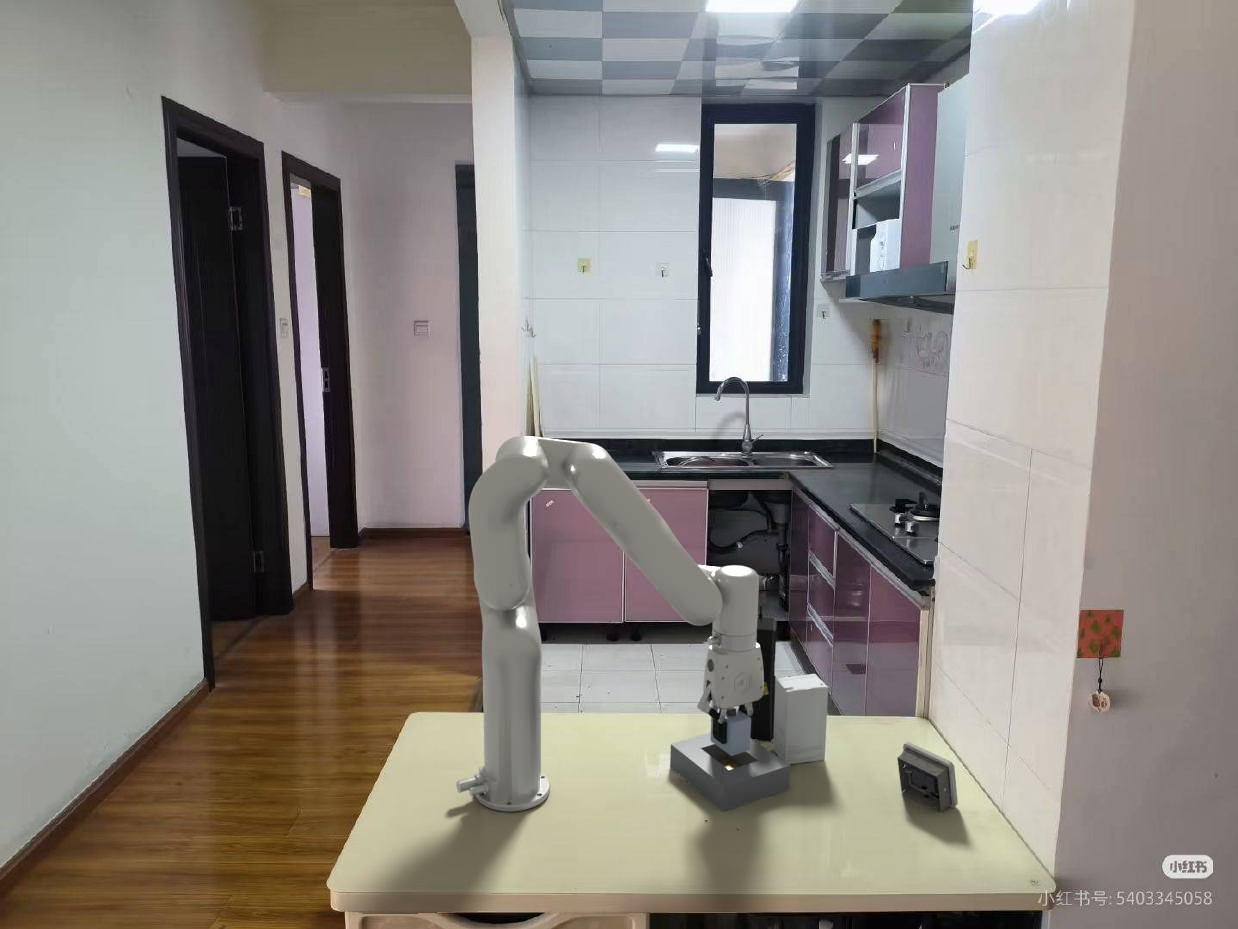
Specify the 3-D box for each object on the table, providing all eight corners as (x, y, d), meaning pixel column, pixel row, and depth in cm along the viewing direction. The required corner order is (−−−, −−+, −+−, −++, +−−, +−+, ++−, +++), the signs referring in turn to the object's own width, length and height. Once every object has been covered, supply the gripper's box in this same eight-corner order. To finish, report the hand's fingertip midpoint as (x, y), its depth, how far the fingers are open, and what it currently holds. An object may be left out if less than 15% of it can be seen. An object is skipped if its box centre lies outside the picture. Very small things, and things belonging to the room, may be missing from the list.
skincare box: (812, 746, 171) (816, 672, 168) (826, 762, 165) (831, 686, 162) (770, 750, 169) (774, 675, 166) (783, 766, 163) (787, 689, 160)
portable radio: (774, 745, 170) (781, 620, 166) (742, 742, 172) (748, 617, 167) (775, 726, 178) (782, 605, 173) (745, 723, 179) (750, 603, 174)
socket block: (723, 811, 149) (724, 786, 148) (670, 767, 162) (670, 744, 161) (789, 789, 156) (790, 765, 155) (732, 748, 169) (733, 726, 168)
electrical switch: (958, 808, 151) (960, 759, 149) (940, 821, 148) (942, 771, 146) (910, 784, 158) (911, 736, 156) (892, 796, 155) (892, 748, 153)
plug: (731, 756, 154) (732, 719, 153) (710, 741, 159) (711, 705, 158) (749, 750, 156) (751, 713, 155) (728, 735, 161) (729, 700, 160)
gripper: (707, 655, 147) (703, 759, 150) (786, 637, 155) (781, 735, 158) (681, 640, 153) (678, 739, 157) (758, 622, 161) (754, 718, 165)
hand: (730, 736), depth 157 cm, fingers closed on plug, 4 cm apart
